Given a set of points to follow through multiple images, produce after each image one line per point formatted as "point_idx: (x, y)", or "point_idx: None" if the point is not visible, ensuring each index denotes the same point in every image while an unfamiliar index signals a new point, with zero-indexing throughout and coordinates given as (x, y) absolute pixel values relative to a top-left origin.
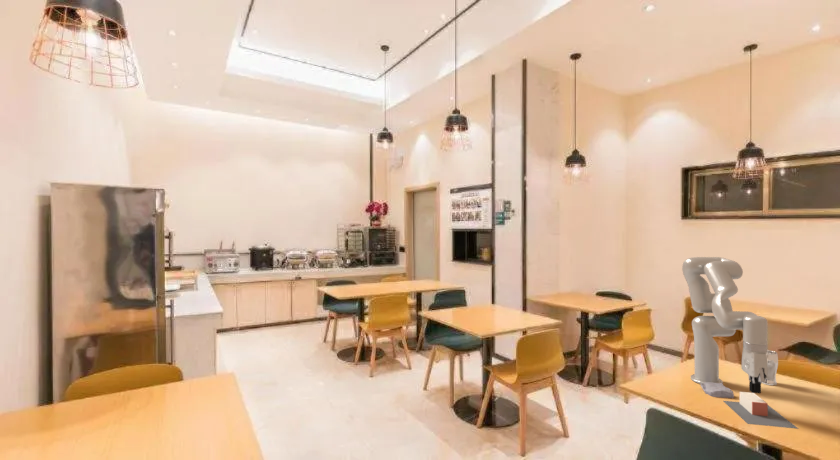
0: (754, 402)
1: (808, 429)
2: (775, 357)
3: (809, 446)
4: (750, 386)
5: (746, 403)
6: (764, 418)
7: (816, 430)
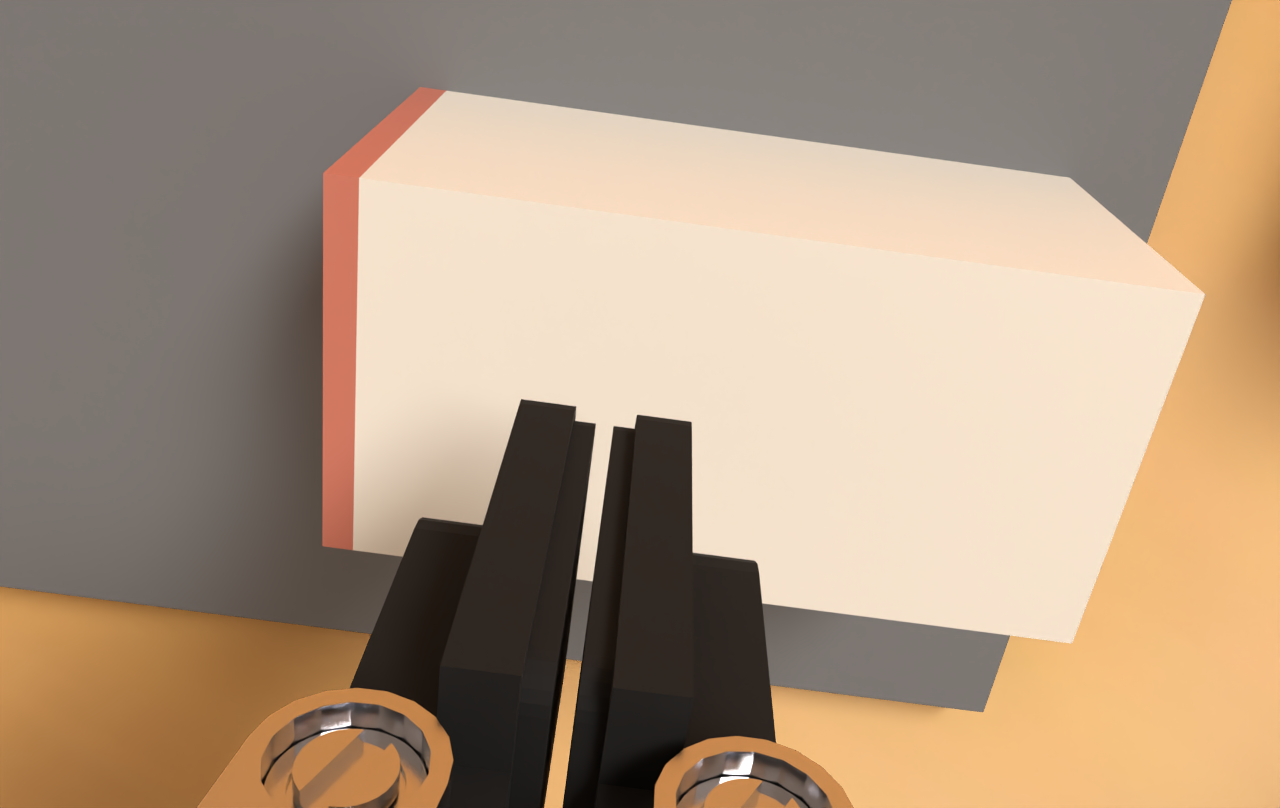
0: (324, 228)
1: (100, 723)
2: None
3: None
4: (620, 534)
5: (722, 171)
6: (257, 238)
7: (101, 800)
